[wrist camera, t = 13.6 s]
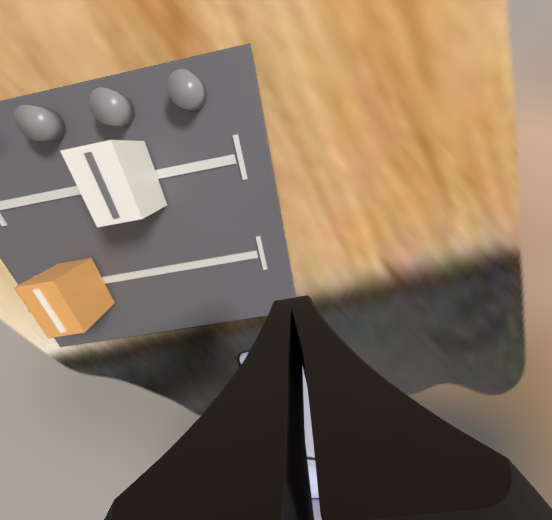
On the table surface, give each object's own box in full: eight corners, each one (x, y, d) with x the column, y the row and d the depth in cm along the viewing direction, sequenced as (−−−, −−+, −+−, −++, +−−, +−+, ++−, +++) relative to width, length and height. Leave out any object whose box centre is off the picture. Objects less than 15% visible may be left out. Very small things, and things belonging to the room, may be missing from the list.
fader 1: (167, 205, 16) (141, 219, 13) (130, 212, 16) (95, 228, 13) (144, 141, 14) (109, 139, 11) (103, 149, 14) (58, 150, 11)
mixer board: (295, 296, 21) (299, 320, 18) (78, 330, 22) (48, 358, 19) (253, 56, 14) (247, 33, 12) (-50, 124, 16) (-123, 120, 13)
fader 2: (114, 302, 18) (83, 333, 15) (83, 308, 19) (46, 339, 16) (91, 257, 17) (52, 281, 14) (58, 263, 17) (11, 288, 14)
